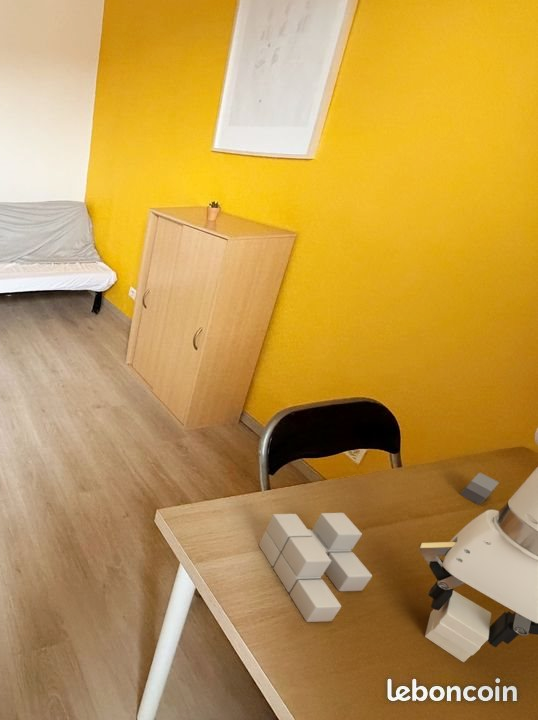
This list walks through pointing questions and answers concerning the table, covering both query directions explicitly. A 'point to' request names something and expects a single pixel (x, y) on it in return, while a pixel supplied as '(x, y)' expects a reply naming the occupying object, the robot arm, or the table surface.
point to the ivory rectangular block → (449, 638)
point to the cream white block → (466, 618)
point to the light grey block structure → (315, 561)
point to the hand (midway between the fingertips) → (463, 618)
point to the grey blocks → (479, 488)
